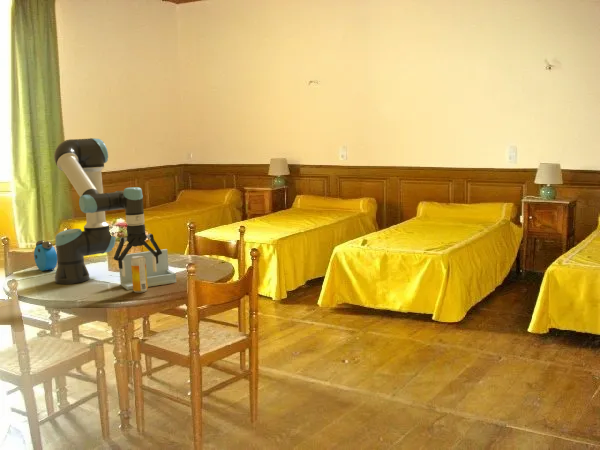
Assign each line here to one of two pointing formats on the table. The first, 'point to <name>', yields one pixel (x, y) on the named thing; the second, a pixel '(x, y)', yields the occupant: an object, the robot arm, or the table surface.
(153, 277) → the stand
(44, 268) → the alarm clock
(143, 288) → the beer can
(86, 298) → the table surface
